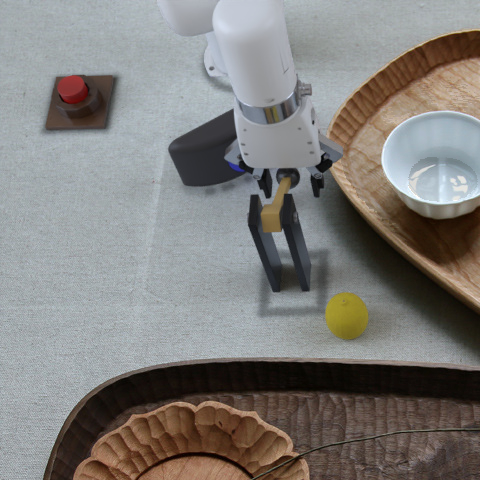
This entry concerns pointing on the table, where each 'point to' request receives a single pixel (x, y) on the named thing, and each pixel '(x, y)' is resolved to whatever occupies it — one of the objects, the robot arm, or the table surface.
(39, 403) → the table surface
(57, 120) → the button base
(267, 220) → the switch lever
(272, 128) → the robot arm
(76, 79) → the button
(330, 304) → the lemon
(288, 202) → the bracket
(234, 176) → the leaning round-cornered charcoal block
